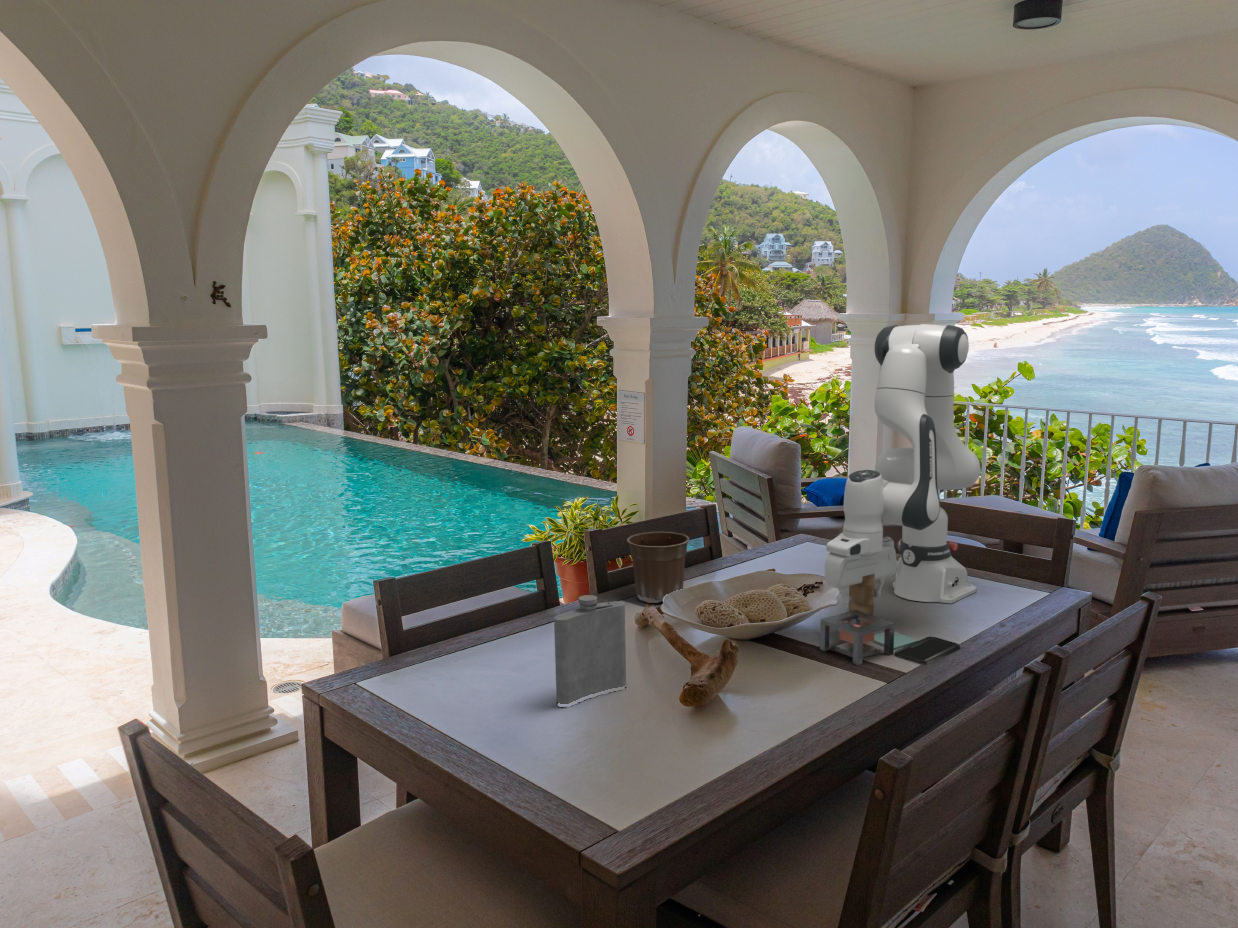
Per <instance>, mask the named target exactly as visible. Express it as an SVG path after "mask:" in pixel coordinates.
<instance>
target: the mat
mask: <svg viewBox="0 0 1238 928" xmlns="http://www.w3.org/2000/svg"><path fill="white" fill-rule="evenodd" d="M884 635H885V631H883V632H880V633H876V634H874V641H871V643H872V642H873V643H874V644H877V645H880V646H882V647H884ZM917 641H919V639H916V638H913V637H912V636H911V637H910V636H908V635H906V634H905V635H904V634H903V633H899V632H897V631H894V651H897V650H899V649H901V648H904V647H906V646H908V645H910V644H913V643H915V642H917Z"/></svg>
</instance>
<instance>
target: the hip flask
mask: <svg viewBox="0 0 1238 928" xmlns="http://www.w3.org/2000/svg"><path fill="white" fill-rule="evenodd" d="M597 602H598V596H596V595H593V594H585V595H584V594H583V595H581V596H579V597H578V603H579V608H577V609H573V610H570V611H567V612H564V613H563V612H562V613H560V614H558V615H555V616H554V617H553V624H554V625H553V627H554V628H553V629H554V657H555V659H554V661H555V690H556V693H555V694H556V703H557V702H558V703H560V704H569V703H571V702H573V701H576V700H578V699H580V698H582V697H585V696H588V695H590V694H595V693H598V692H601V691H605V690H608V689H612V688H618V687H623V686H625V685H626V686H627V660H626V659H627V656H626V655H627V651H626V649H627V647H626V643H627V642H626V604H625V602H624V601H620V600H614V601H609V602H608V601H605V602H598V603H597Z"/></svg>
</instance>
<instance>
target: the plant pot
mask: <svg viewBox="0 0 1238 928" xmlns="http://www.w3.org/2000/svg"><path fill="white" fill-rule="evenodd" d="M626 540H627V543H628V545H629V551H630V552H629V554H630V556H631V557H632V558H631V559H632V567H633V576H634V582H635V584H634V585H635V593H637V594H638V595H640V596H641V597H647V598H651V599H655V600H662V599H663V597H664V596H665V595H666V594H669V593H671V592H673V591H676V590H680V589H683V590H684V578H685V567H686V566H685V565H686V564H685V563H686V555H687V552H688V544H689V542H690V537H689V536H688V535H686V534H684V533H678V532H674V531H673V532H672V531H649V532H642V533H637V534H636V533H635V534H633V535H630V536H629V537H628V538H627V539H626Z"/></svg>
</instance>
